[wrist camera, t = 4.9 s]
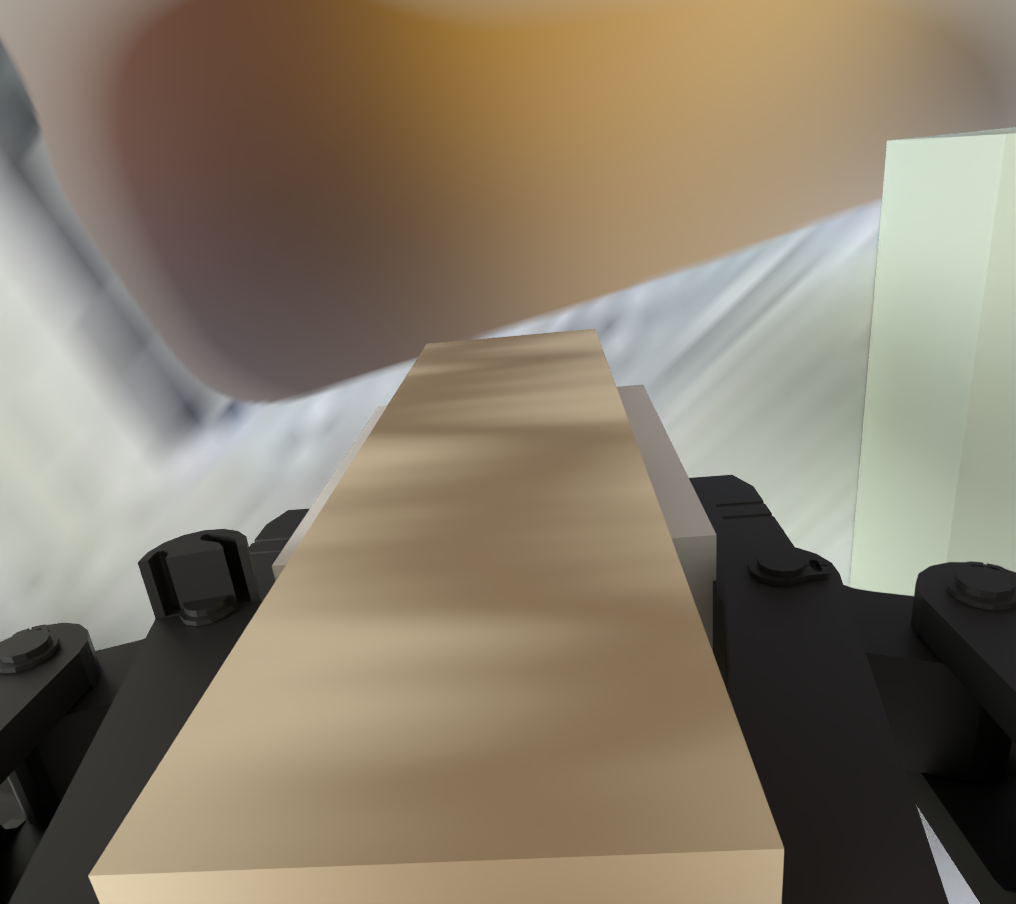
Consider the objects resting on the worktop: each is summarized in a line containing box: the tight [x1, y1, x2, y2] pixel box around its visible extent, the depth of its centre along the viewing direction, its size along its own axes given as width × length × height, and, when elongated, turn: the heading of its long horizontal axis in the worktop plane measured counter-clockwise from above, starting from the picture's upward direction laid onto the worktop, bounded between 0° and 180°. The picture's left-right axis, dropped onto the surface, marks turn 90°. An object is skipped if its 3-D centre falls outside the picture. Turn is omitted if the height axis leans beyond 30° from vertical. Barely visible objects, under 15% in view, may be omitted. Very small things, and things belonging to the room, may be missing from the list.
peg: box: [88, 329, 784, 904], centre depth 11 cm, size 4×4×14 cm
